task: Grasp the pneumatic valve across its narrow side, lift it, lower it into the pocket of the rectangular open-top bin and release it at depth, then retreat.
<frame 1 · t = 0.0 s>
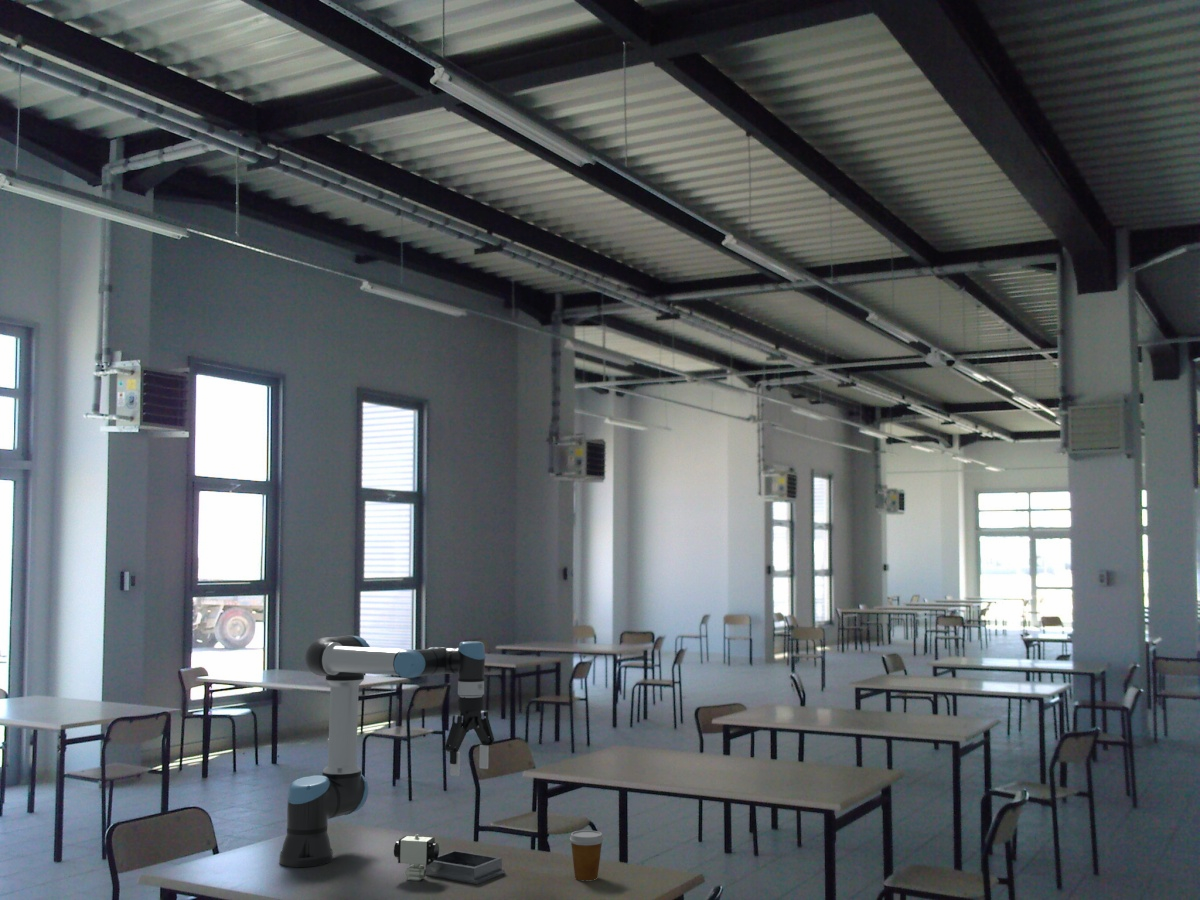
hand: (469, 772, 305), 28 cm above the table, fingers open, 13 cm apart
pneumatic valve: (416, 879, 297), on the table
rectangular open-top bin: (463, 873, 302), on the table
disposable coffee cup: (586, 879, 298), on the table
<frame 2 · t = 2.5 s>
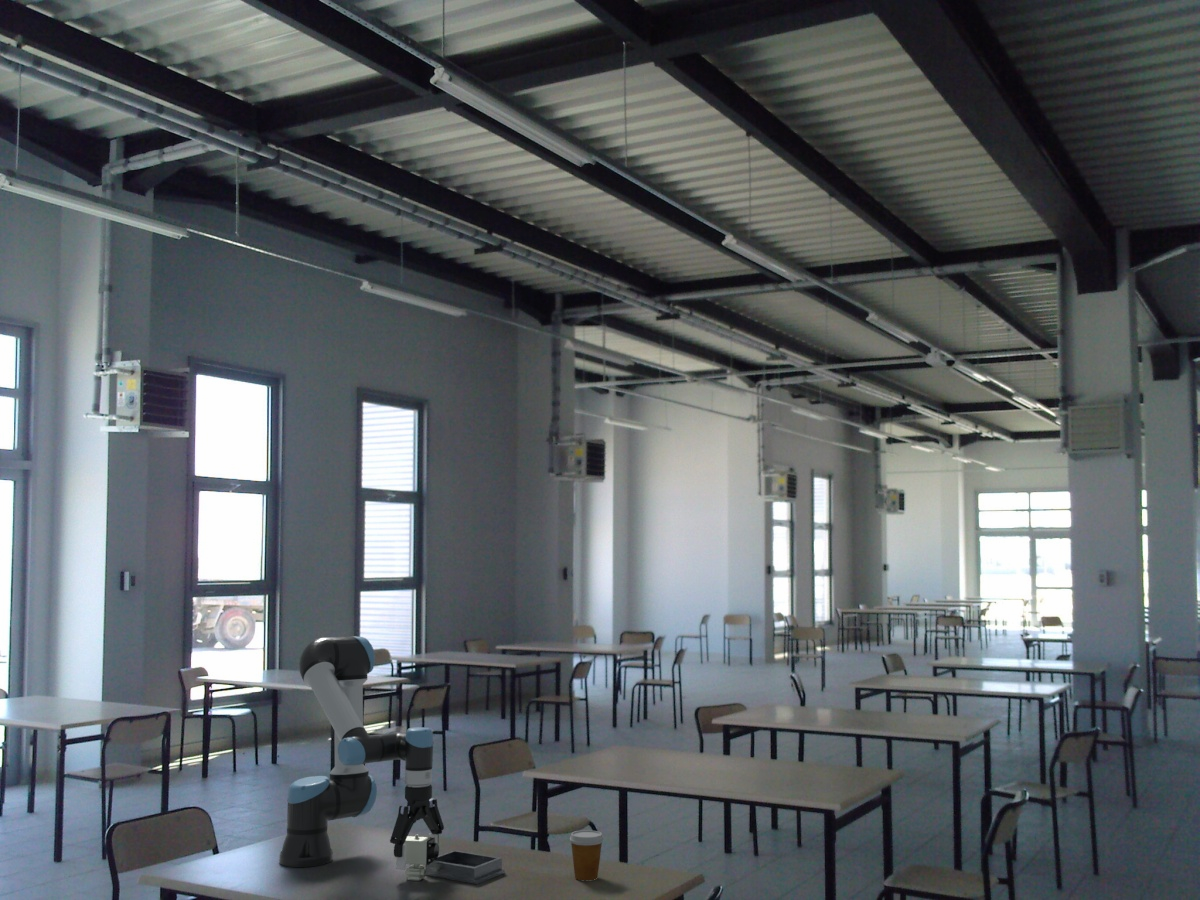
hand: (417, 863, 297), 4 cm above the table, fingers open, 13 cm apart
nothing on the table moved.
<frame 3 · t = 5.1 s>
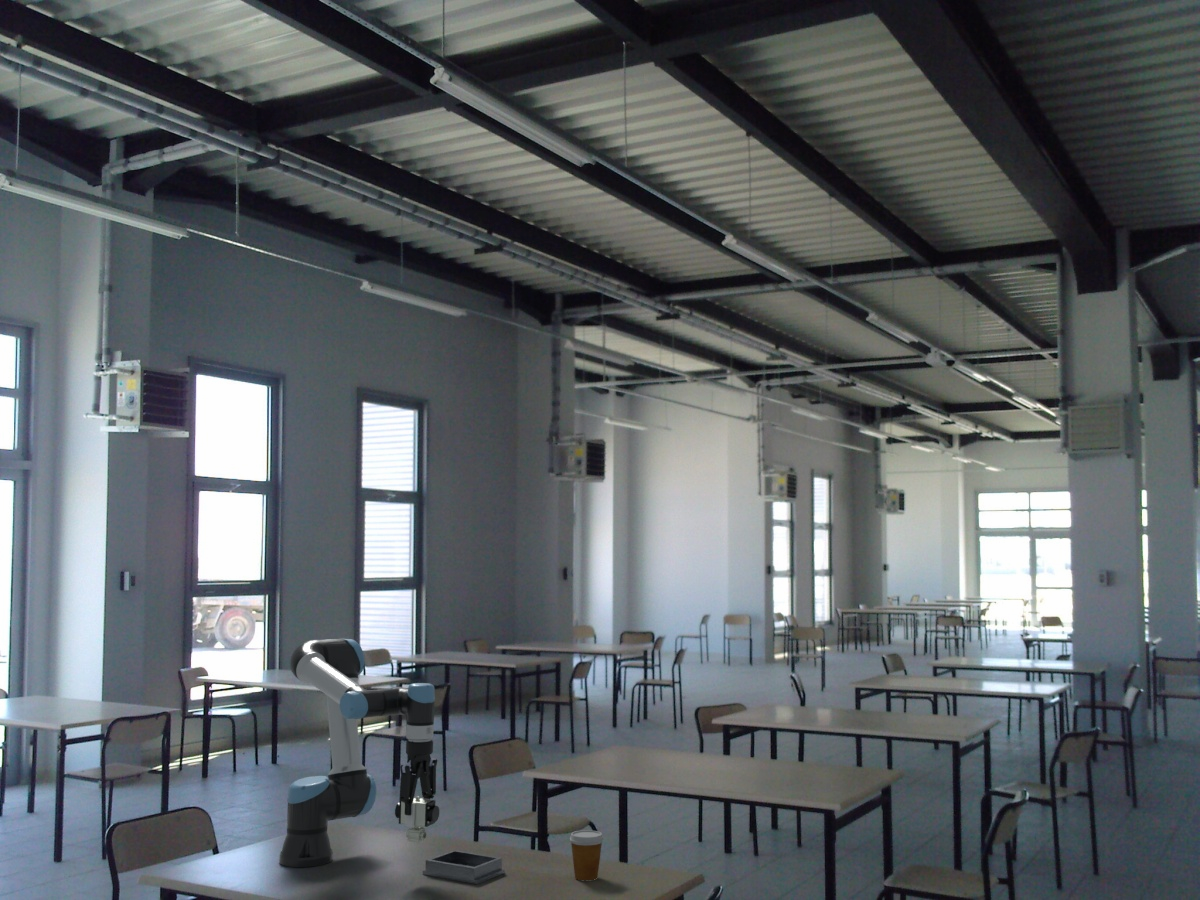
hand: (416, 824, 299), 15 cm above the table, fingers closed on pneumatic valve, 6 cm apart
pneumatic valve: (417, 841, 298), point 10 cm above the table, touching gripper
everything else where it was.
when the fingers open (4 cm above the table, at t = 9.2 s): pneumatic valve stays where it is, resting on rectangular open-top bin.
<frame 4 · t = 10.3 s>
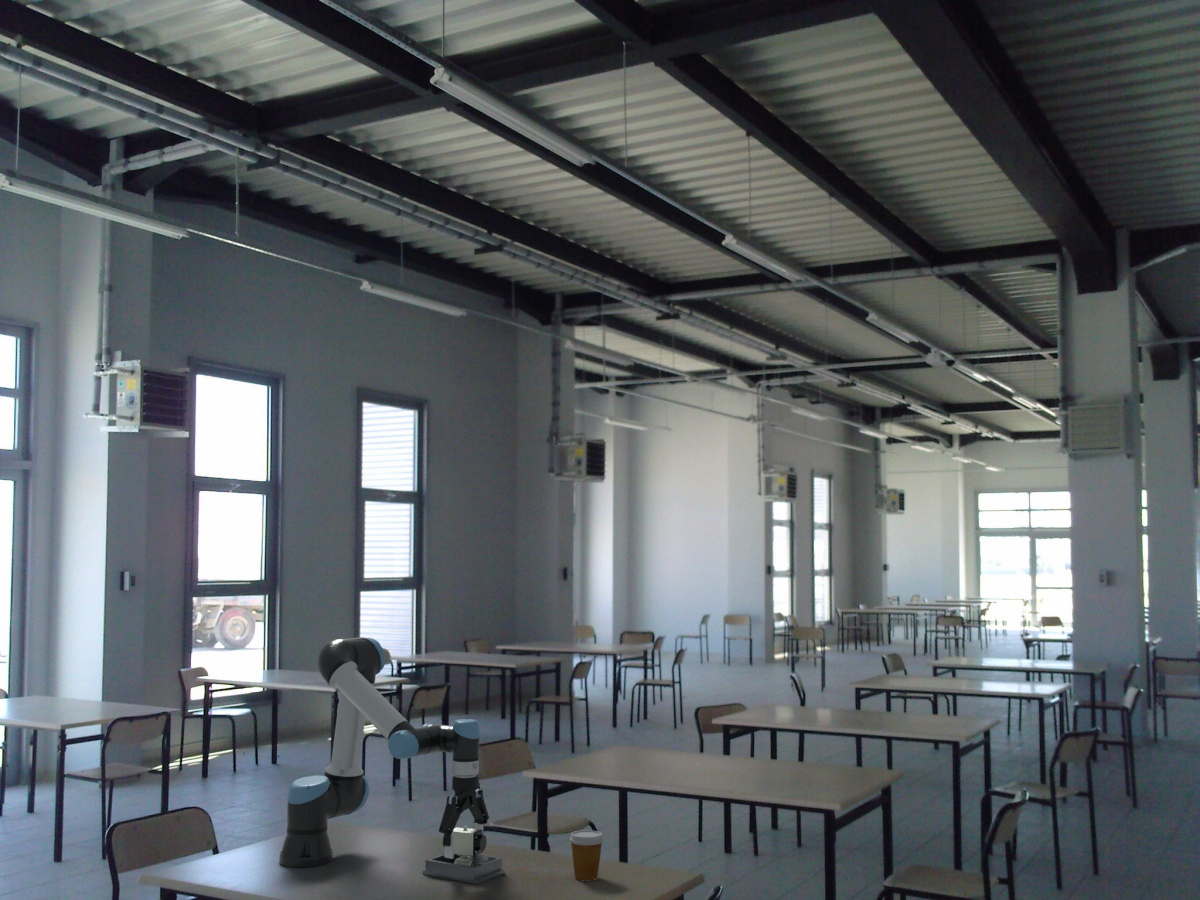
hand: (463, 852, 303), 6 cm above the table, fingers open, 13 cm apart
pneumatic valve: (464, 870, 302), point 1 cm above the table, touching rectangular open-top bin
everything else where it was.
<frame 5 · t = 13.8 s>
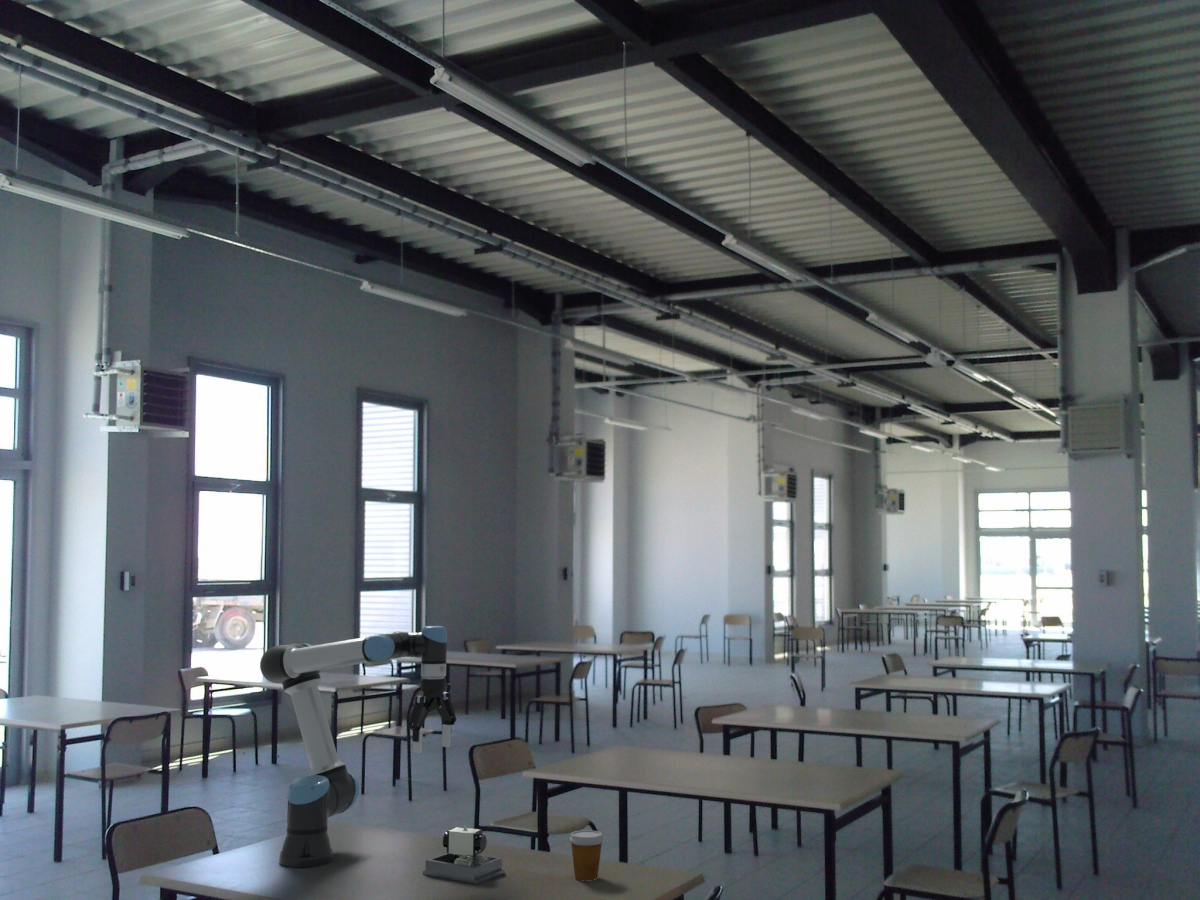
hand: (431, 749, 321), 32 cm above the table, fingers open, 13 cm apart
nothing on the table moved.
at the end: pneumatic valve inside the target area on the rectangular open-top bin (0.3 cm from its centre), point 0.9 cm above the rectangular open-top bin's base; pneumatic valve tilted 0°; the gripper is holding nothing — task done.
